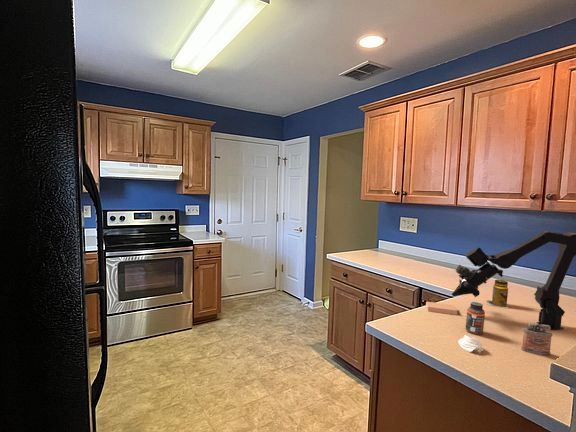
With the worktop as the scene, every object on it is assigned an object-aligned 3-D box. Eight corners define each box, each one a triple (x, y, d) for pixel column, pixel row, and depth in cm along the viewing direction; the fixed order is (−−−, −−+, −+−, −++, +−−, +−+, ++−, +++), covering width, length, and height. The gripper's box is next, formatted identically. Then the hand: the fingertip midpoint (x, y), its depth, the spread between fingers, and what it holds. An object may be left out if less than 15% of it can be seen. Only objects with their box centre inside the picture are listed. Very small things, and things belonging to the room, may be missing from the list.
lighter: (523, 351, 109) (525, 323, 108) (519, 347, 112) (522, 319, 111) (551, 356, 106) (555, 328, 105) (547, 352, 109) (550, 324, 108)
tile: (454, 305, 146) (426, 301, 150) (457, 310, 139) (428, 306, 143) (453, 310, 146) (425, 306, 150) (457, 316, 140) (427, 312, 143)
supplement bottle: (476, 336, 119) (478, 307, 118) (461, 329, 125) (464, 301, 124) (486, 333, 122) (489, 305, 121) (472, 327, 127) (474, 300, 126)
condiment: (508, 308, 149) (510, 283, 148) (487, 304, 154) (489, 280, 152) (506, 303, 156) (508, 280, 155) (486, 300, 160) (488, 277, 159)
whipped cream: (453, 346, 113) (452, 333, 113) (468, 342, 115) (467, 329, 115) (472, 356, 106) (472, 342, 105) (488, 351, 108) (487, 337, 107)
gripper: (465, 256, 148) (437, 276, 153) (472, 264, 130) (441, 287, 135) (483, 274, 146) (454, 294, 151) (493, 285, 128) (460, 307, 133)
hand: (452, 295), depth 142 cm, fingers closed
